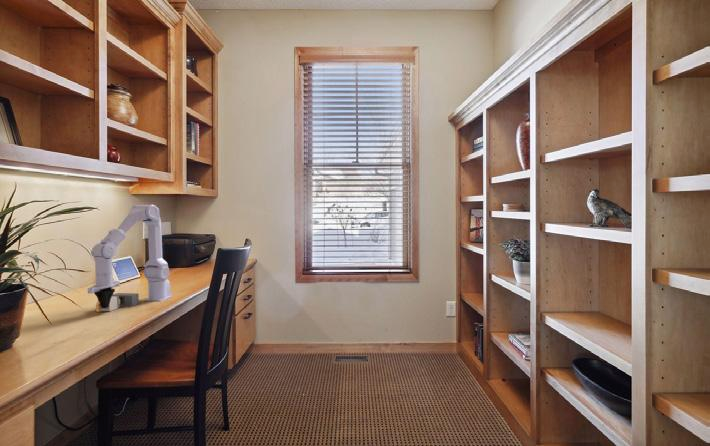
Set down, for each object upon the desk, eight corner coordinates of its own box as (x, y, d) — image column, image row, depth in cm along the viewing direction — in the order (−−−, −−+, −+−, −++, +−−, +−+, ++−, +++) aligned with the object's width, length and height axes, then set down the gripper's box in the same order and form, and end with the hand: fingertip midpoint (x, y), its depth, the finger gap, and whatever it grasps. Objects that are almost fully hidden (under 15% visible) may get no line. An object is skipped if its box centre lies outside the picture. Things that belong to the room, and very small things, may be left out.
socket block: (116, 303, 173) (115, 292, 173) (138, 304, 172) (138, 293, 171) (96, 309, 162) (96, 298, 162) (120, 310, 161) (120, 299, 160)
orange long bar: (98, 305, 163) (97, 296, 163) (102, 305, 164) (101, 296, 164) (95, 312, 152) (95, 303, 152) (99, 312, 153) (99, 302, 153)
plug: (113, 306, 166) (112, 294, 166) (122, 306, 166) (122, 294, 166) (100, 310, 159) (99, 298, 159) (110, 311, 159) (109, 298, 159)
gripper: (108, 270, 164) (109, 303, 164) (79, 276, 149) (81, 312, 150) (124, 270, 163) (125, 303, 163) (96, 277, 148) (97, 312, 149)
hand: (105, 307), depth 157 cm, fingers closed
